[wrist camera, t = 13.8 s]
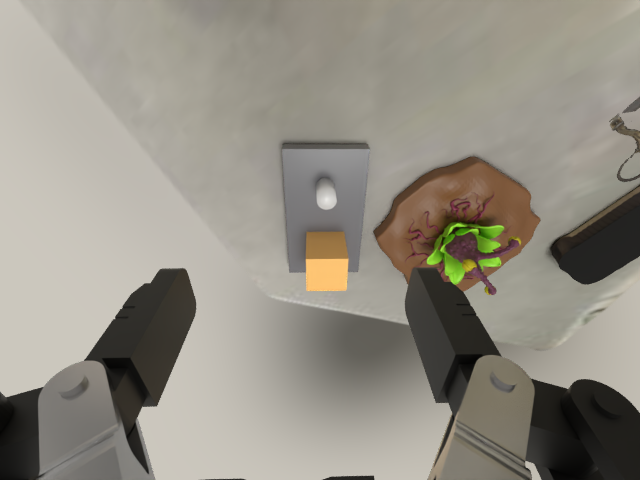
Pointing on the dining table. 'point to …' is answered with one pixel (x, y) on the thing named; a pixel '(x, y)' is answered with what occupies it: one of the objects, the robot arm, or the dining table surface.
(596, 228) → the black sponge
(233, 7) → the dining table surface
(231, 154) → the dining table surface
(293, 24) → the dining table surface
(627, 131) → the hacksaw
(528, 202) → the plant
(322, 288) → the pale orange cube
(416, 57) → the dining table surface
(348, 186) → the board
